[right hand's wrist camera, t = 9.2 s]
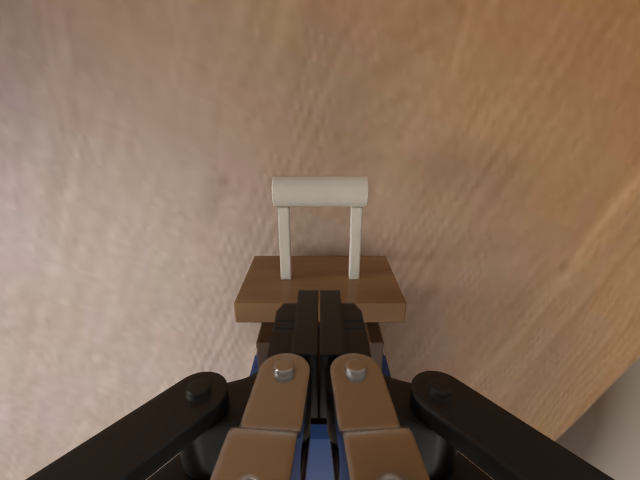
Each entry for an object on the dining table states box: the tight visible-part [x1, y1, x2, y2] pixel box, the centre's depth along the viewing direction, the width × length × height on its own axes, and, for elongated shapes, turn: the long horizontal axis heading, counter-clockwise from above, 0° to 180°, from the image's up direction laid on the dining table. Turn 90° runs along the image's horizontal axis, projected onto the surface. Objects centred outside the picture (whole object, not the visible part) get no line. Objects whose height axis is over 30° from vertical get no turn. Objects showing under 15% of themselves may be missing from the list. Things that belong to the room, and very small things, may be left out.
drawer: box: [234, 176, 406, 424], centre depth 23 cm, size 25×9×6 cm, turn 0°
